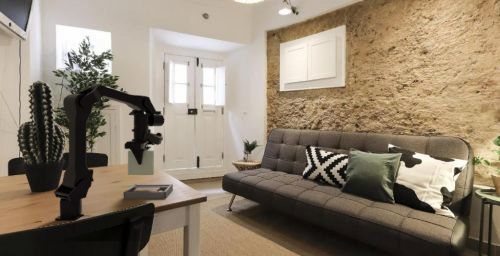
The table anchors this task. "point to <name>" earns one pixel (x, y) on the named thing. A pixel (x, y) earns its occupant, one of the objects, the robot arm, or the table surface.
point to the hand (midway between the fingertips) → (140, 164)
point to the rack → (158, 194)
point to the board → (145, 167)
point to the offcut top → (146, 190)
